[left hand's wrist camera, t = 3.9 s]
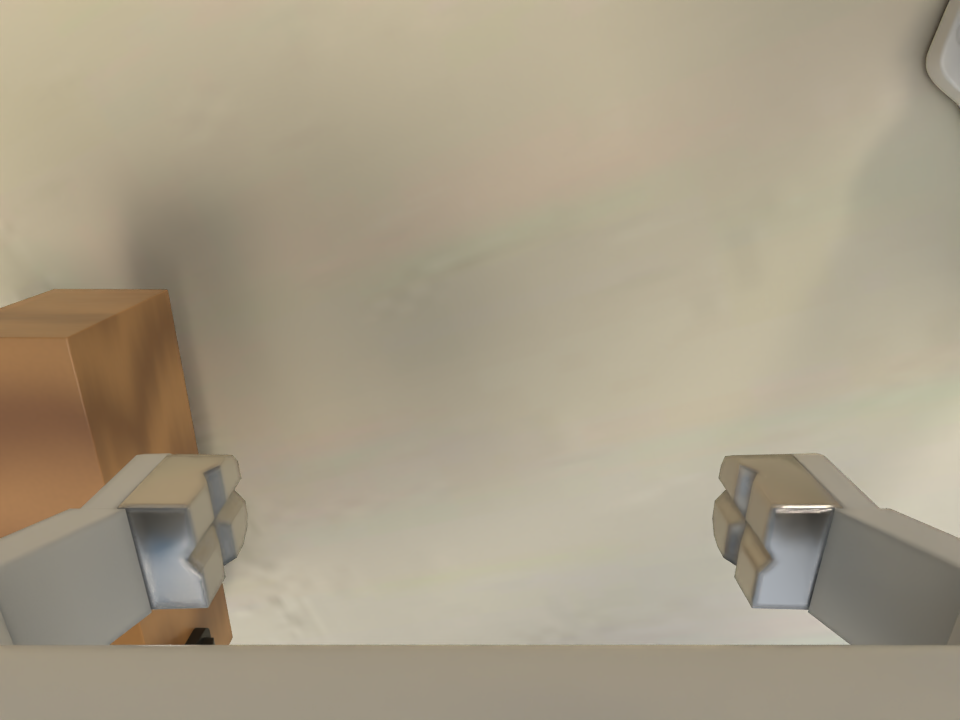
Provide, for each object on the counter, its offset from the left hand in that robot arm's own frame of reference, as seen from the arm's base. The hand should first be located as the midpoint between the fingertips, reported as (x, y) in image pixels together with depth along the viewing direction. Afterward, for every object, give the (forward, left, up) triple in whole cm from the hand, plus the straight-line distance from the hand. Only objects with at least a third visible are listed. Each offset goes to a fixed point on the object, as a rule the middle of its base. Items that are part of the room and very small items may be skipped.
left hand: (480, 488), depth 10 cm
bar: (+14, -19, -21) cm, 32 cm away
